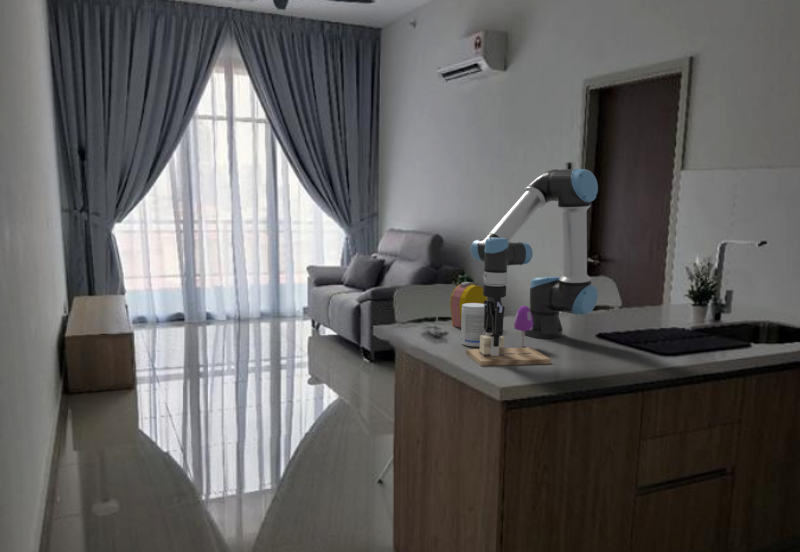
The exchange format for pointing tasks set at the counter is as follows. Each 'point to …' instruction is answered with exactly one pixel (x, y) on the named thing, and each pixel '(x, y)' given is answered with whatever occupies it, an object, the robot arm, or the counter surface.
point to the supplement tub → (472, 324)
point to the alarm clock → (464, 299)
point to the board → (510, 357)
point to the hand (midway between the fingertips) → (491, 353)
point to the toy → (523, 321)
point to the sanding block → (486, 345)
